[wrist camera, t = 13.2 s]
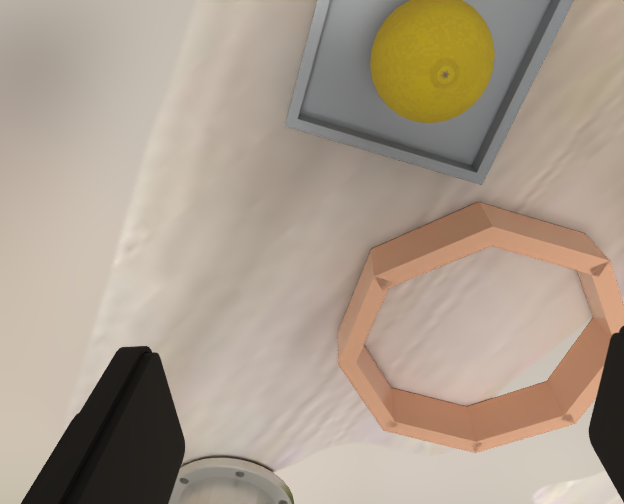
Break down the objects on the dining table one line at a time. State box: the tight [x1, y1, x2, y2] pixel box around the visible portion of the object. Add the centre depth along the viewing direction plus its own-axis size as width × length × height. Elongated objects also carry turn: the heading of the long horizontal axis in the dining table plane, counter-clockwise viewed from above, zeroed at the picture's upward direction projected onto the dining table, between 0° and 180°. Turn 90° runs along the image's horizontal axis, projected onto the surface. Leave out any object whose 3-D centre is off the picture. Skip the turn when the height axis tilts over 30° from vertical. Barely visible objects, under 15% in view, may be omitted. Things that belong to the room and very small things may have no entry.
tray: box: [285, 0, 574, 185], centre depth 26 cm, size 12×12×2 cm
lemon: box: [370, 0, 495, 123], centre depth 23 cm, size 6×6×8 cm
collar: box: [338, 202, 624, 453], centre depth 35 cm, size 18×18×4 cm
